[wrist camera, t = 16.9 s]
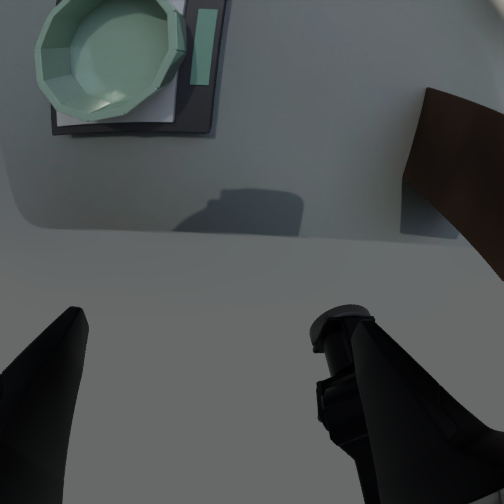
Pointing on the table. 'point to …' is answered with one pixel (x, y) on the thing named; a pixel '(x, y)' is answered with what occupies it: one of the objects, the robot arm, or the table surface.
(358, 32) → the table surface
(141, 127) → the scale
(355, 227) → the table surface
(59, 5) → the bowl
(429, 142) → the stand
